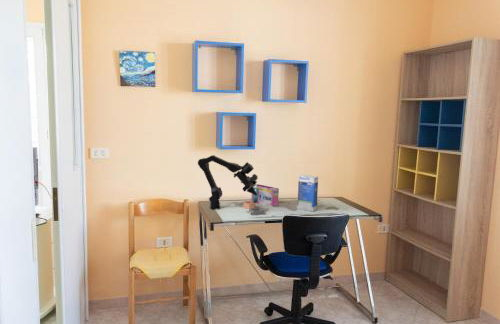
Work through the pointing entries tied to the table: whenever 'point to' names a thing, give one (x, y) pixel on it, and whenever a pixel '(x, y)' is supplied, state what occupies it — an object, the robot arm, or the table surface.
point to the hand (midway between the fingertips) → (257, 194)
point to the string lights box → (307, 192)
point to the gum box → (268, 195)
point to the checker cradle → (256, 211)
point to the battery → (256, 197)
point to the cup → (249, 204)
